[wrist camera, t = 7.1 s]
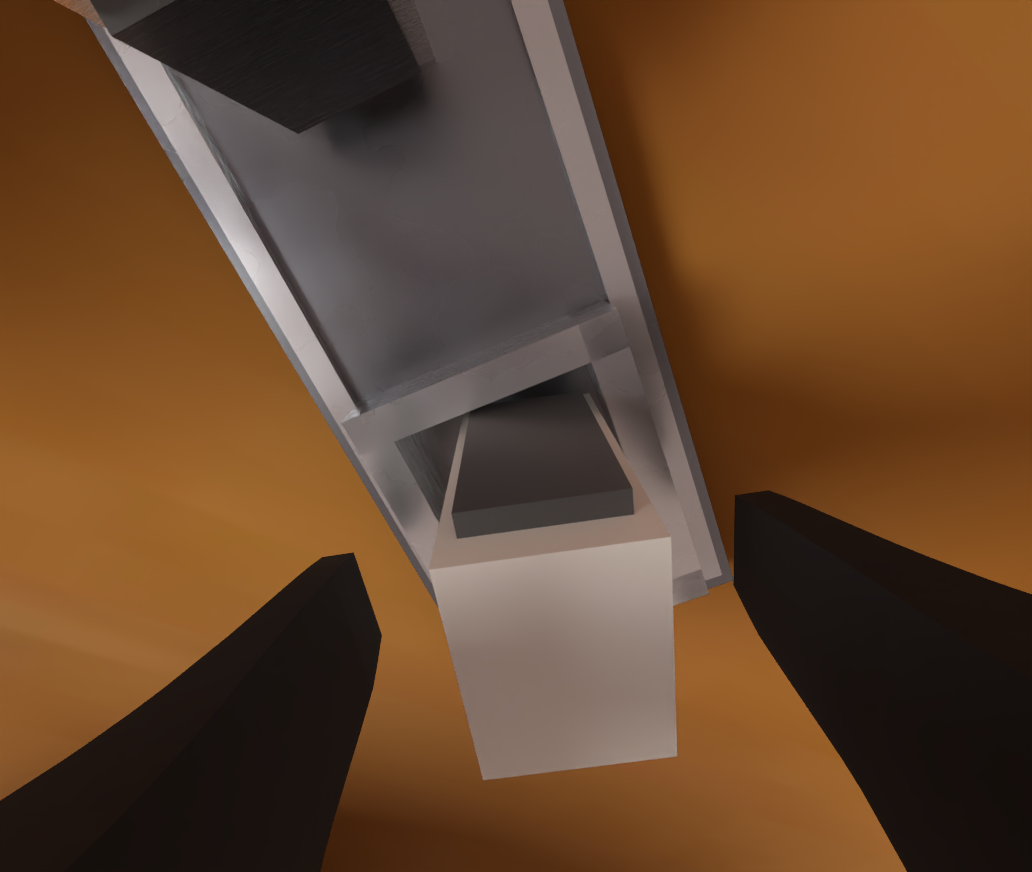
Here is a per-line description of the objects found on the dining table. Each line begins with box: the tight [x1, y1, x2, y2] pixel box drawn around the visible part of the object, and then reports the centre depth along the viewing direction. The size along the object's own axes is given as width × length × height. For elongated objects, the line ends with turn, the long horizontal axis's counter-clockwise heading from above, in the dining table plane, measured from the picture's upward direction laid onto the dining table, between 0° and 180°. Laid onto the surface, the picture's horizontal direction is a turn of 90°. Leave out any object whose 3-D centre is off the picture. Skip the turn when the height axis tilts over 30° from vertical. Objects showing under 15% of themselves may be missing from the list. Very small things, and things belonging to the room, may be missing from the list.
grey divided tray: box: [54, 0, 733, 608], centre depth 8 cm, size 8×20×7 cm, turn 22°
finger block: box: [429, 391, 677, 780], centre depth 9 cm, size 3×4×6 cm
